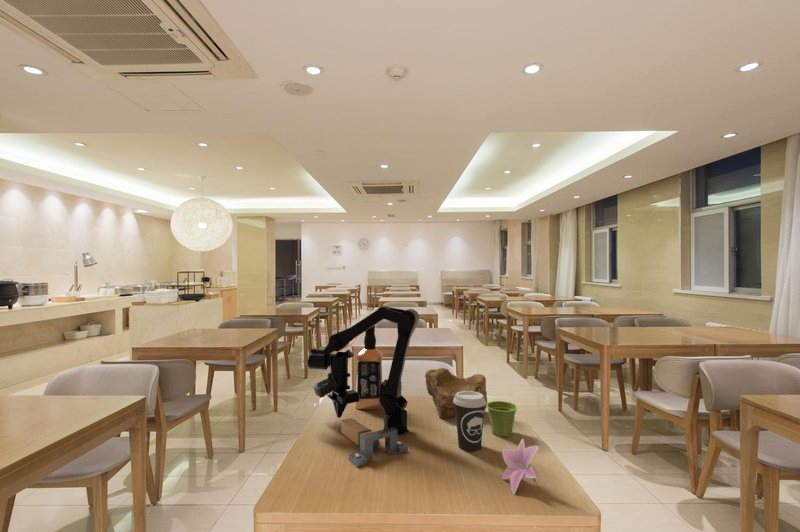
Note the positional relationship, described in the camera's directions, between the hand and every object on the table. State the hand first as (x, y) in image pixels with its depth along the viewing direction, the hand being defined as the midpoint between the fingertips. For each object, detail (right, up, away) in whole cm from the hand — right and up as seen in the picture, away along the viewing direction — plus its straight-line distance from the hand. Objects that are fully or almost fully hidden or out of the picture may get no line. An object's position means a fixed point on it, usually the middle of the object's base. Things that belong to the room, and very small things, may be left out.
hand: (339, 417), depth 126 cm
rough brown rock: (+40, -3, +10) cm, 41 cm away
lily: (+49, -2, -35) cm, 61 cm away
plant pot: (+53, -3, -6) cm, 53 cm away
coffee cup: (+41, -2, -16) cm, 44 cm away
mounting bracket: (+15, -2, -21) cm, 26 cm away
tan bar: (+8, -2, -12) cm, 14 cm away
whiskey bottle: (+9, -4, +20) cm, 22 cm away
